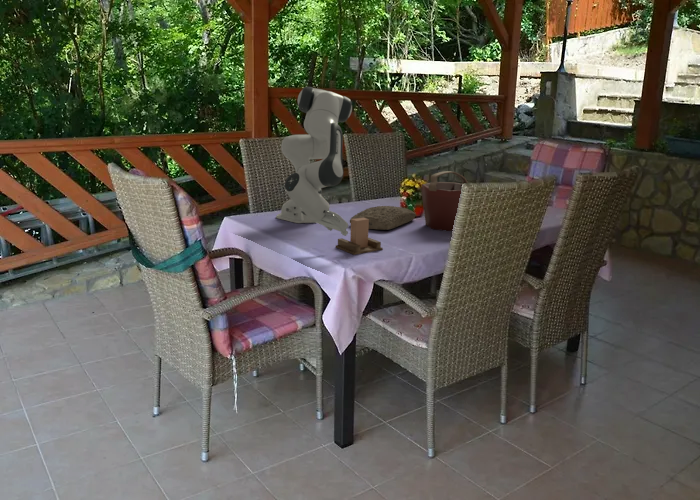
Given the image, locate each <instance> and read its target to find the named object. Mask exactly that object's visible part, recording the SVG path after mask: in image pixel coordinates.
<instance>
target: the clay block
mask: <svg viewBox="0 0 700 500" xmlns="http://www.w3.org/2000/svg"><path fill="white" fill-rule="evenodd" d="M350 219H351V218H350ZM368 228H369V219H366V218H356V219H351V223H350V242H353V243H355V244H358V245H360V248H362V247H368V237H369V229H368Z"/></svg>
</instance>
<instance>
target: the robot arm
mask: <svg viewBox="0 0 700 500" xmlns="http://www.w3.org/2000/svg"><path fill="white" fill-rule="evenodd" d="M352 104H353V103H352V100H351V99H350V98H349V97H347V96H345V95H341V94H339V93H336V92H333V91H331V90H325V89H321V88H315V87H313V86H305V87H303V88H302V89H301V91H300V92H299V94H298V96H297V107H298V108H297V109H299V111H301V112H302V113H304V114H305V117H304V118H305V119H304V120H303V127H304V130H305V132H306V133H307V134H292V135H289V136H285V137H284V138H283V139H282V142H281V144H280V145H281V148H280V149H281V153H282V154H283V156H284V157H285V158H286V159H287V160H289V161H290V163H291V164H292V166H293V167H294V170H295V172H293V173H291V174H290V175H288V176H287V178H286V179H285V182H284V185H283V186H284V187H283V188H284V189H285V192H286V194H287V195H288V197H289V198H290V199H288V200H287V201H286V202H284V203H283V205H282V206H281V211H280V213H278V214H277V215H276V216H275V217H276V219H279V220H282V221H286V222H291V223H295V224H304V223H305V224H310V223H311V224H312V223H314V224H315V223H316V224H318V225H320V226H321V225H322V226H323V227H324V228H326V229H327V230H328V231H333V230H336V231H338V232H340V234H341V235H342V236H344V237H347V235H348V231H347V229H348V228H349V224H348V222H347V221H346V220H345V219H344V218H343V217H342V215H340V214H338V213H337V212H334V211H332V210H330V203H329V202H328V201H327V200H326V199H325V198H324V197H323V188H326V187H334V186H335V187H337V186H338V185H339V184H340V183H341V182H342V180H343V178H344V166H343V145H344V144H343V140H344V137H343V130H342V128H341V126H340V125H339V124H338V123H345V122H347V121H348V119H349V118H350V116H351V115H352V112H353V105H352ZM310 160H318V161H315V162H310Z"/></svg>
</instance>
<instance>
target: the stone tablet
mask: <svg viewBox="0 0 700 500" xmlns="http://www.w3.org/2000/svg"><path fill="white" fill-rule="evenodd" d="M416 216H417V215H416V213H415V212H414V211H413V210H411V209H408V208H404V207H401V206H393V205H392V206H391V205H379V206H372V207H368V208H366V209H364V210H362V211H359V212H358V213H357V214H355V215H353V216H352V217H351V218H350V219H349V223H350V224H351V219H356V218H366V219H369V228H368V230H378V231H379V230H381V231H382V230H385V231H387V230H393V229H395V228H397V227H399V226H403V225H405V224H407V223H410V222H411V221H414V219H415V218H416Z"/></svg>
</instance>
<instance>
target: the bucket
mask: <svg viewBox="0 0 700 500" xmlns="http://www.w3.org/2000/svg"><path fill="white" fill-rule="evenodd" d="M446 174H453V175H454V176H455V177H458V178H459V179H460V181H461V182H462V183H459V182H449V181H448V182H447V181H438V178H439V177H441V176H443V175H444V176H445V175H446ZM463 183H469V182H468V180H467V178H466V177H465V176H463V175H462V174H460V173H458V172H456V171H450V170H447V171H446V170H445V171H440V172H436V173H433V174H432V175H430V182H427V183H422V184H421V198H422V204H423V205H422V206H423V213H424V220H425V225H426V226H427V227H428V228H429V229H432V230H438V231H443V230H446V231H445V232H452V229H453V225H454V220H455V216H456V213H457V208H458V203H459V198H460V194H461V186H462V184H463Z"/></svg>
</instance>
